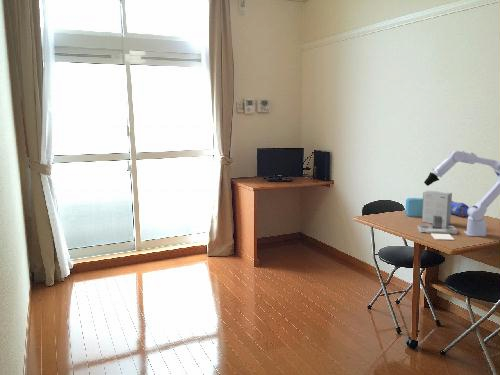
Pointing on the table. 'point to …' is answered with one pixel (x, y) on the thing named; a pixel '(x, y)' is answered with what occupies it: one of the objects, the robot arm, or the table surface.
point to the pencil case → (459, 209)
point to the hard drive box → (436, 206)
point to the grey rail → (437, 229)
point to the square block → (437, 222)
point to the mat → (442, 236)
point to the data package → (414, 207)
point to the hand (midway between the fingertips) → (425, 184)
